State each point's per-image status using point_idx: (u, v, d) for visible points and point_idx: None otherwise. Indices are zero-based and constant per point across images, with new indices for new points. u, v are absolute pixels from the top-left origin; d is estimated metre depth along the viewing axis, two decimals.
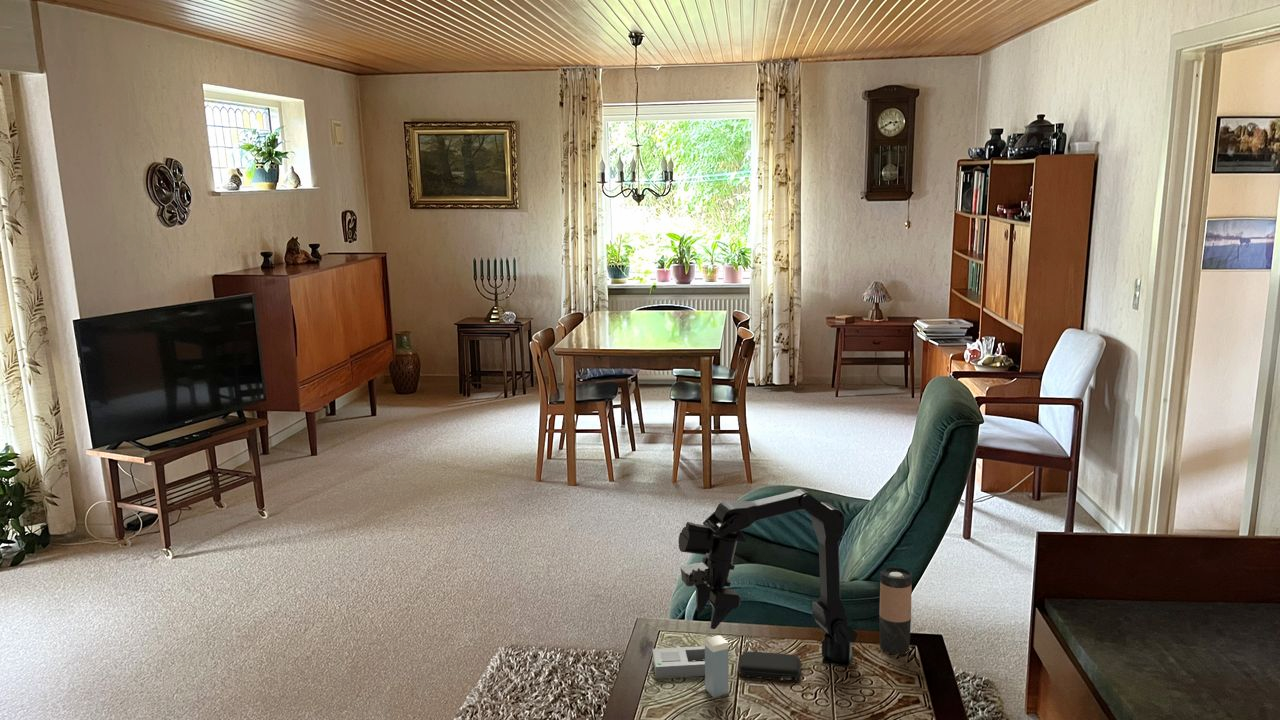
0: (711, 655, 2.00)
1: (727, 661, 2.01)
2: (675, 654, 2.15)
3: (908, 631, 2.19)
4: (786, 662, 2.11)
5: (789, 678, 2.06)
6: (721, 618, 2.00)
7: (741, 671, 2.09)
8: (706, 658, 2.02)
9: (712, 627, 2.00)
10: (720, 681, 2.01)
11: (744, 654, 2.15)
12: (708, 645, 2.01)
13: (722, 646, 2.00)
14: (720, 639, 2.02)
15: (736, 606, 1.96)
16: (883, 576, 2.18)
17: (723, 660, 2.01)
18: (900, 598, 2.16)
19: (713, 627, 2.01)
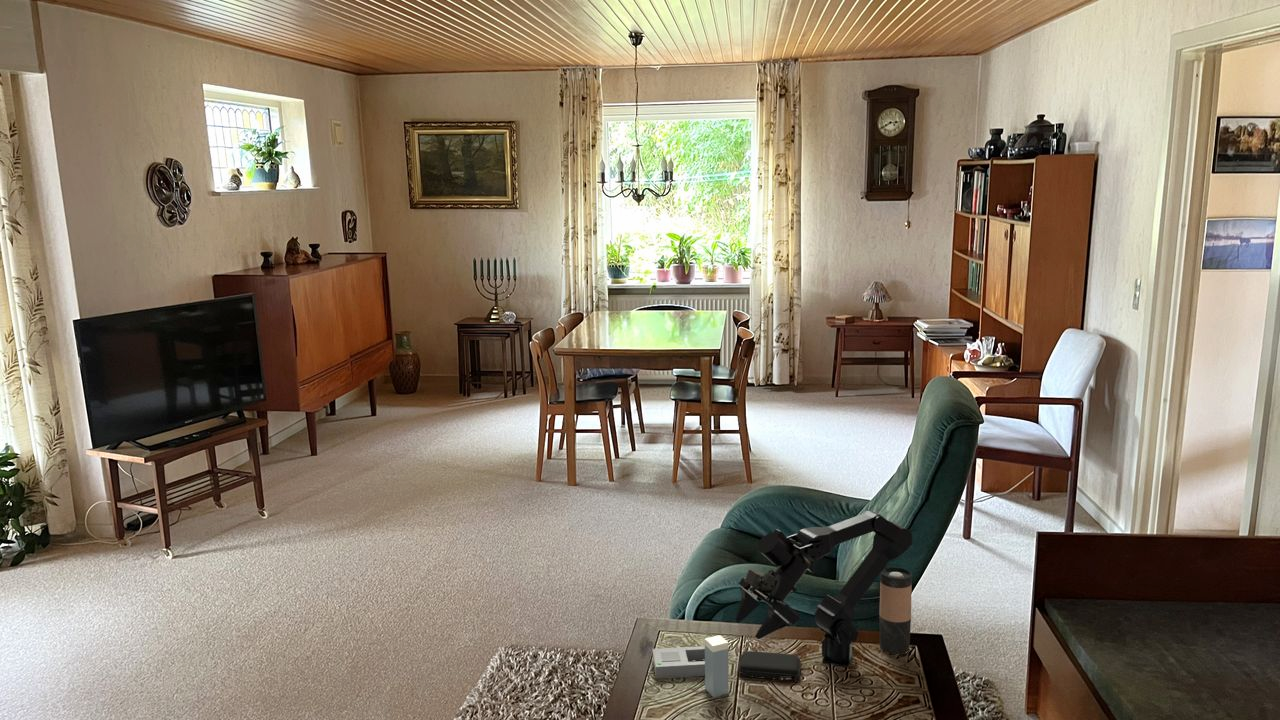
0: (711, 655, 2.00)
1: (727, 661, 2.01)
2: (675, 654, 2.15)
3: (908, 631, 2.19)
4: (786, 662, 2.11)
5: (789, 678, 2.06)
6: (770, 631, 2.00)
7: (741, 671, 2.10)
8: (706, 658, 2.02)
9: (757, 636, 2.00)
10: (720, 681, 2.01)
11: (744, 654, 2.16)
12: (707, 644, 2.01)
13: (722, 646, 2.00)
14: (720, 639, 2.02)
15: (793, 624, 1.98)
16: (883, 576, 2.18)
17: (723, 660, 2.01)
18: (900, 598, 2.16)
19: (758, 636, 2.00)
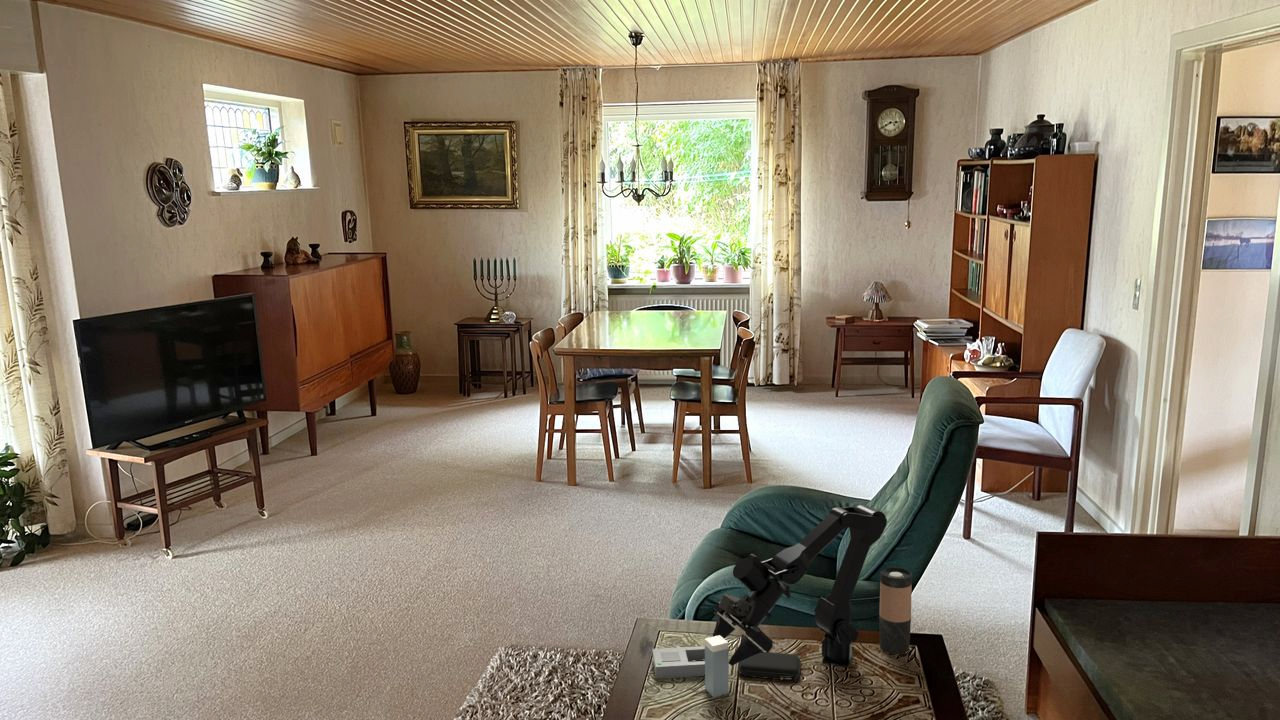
0: (711, 655, 2.00)
1: (727, 661, 2.01)
2: (675, 654, 2.15)
3: (908, 631, 2.19)
4: (786, 662, 2.11)
5: (789, 678, 2.06)
6: (743, 657, 1.98)
7: (741, 670, 2.10)
8: (706, 658, 2.02)
9: (731, 662, 1.98)
10: (720, 681, 2.01)
11: None
12: (707, 644, 2.01)
13: (722, 646, 2.00)
14: (720, 639, 2.02)
15: (767, 650, 1.96)
16: (883, 576, 2.18)
17: (723, 660, 2.01)
18: (900, 598, 2.16)
19: (731, 663, 1.98)
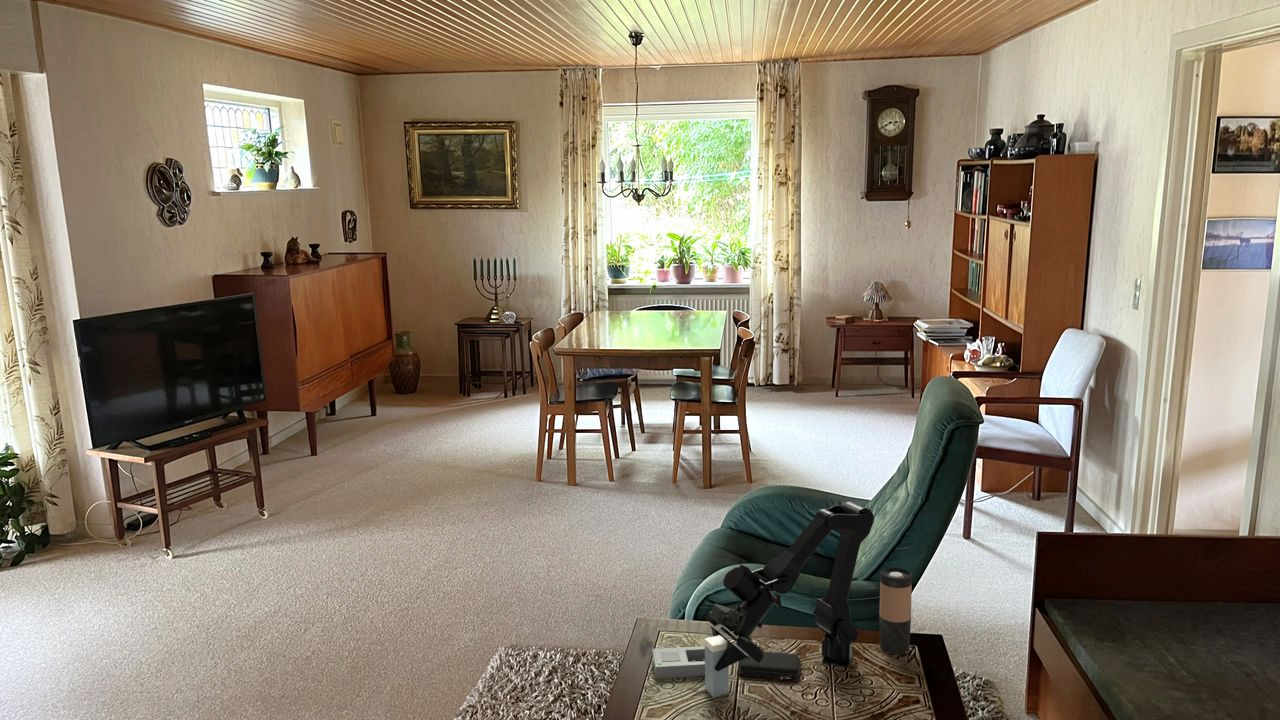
0: (711, 655, 2.00)
1: None
2: (675, 654, 2.15)
3: (908, 631, 2.19)
4: (786, 661, 2.11)
5: (789, 677, 2.06)
6: (729, 663, 2.00)
7: (741, 670, 2.10)
8: (706, 658, 2.02)
9: (716, 668, 2.00)
10: (720, 681, 2.01)
11: None
12: (707, 644, 2.01)
13: (722, 646, 2.00)
14: (720, 639, 2.02)
15: (758, 661, 1.96)
16: (883, 576, 2.18)
17: None
18: (900, 598, 2.16)
19: (717, 669, 2.00)
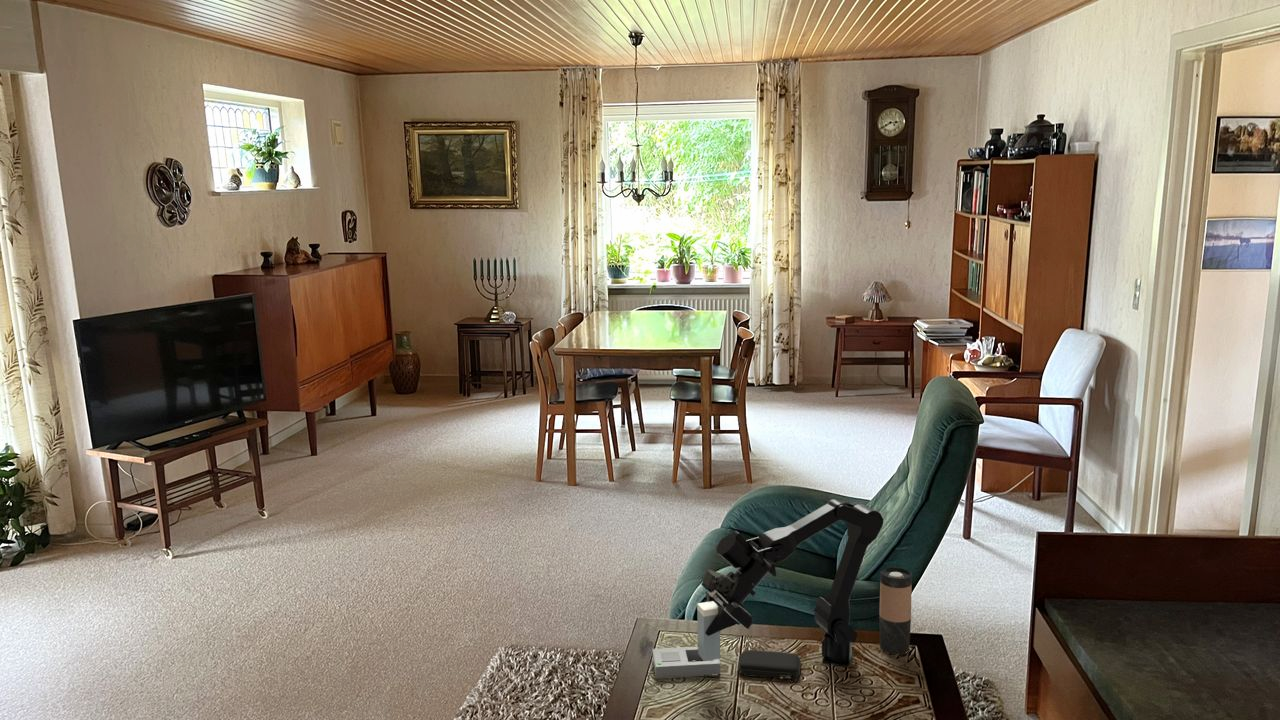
0: (702, 619, 2.03)
1: None
2: (675, 654, 2.15)
3: (908, 631, 2.19)
4: (786, 661, 2.11)
5: (789, 677, 2.07)
6: (720, 628, 2.02)
7: (741, 669, 2.10)
8: (698, 623, 2.05)
9: (707, 633, 2.02)
10: (711, 646, 2.03)
11: (744, 653, 2.16)
12: (699, 609, 2.04)
13: (713, 611, 2.02)
14: (712, 604, 2.04)
15: (746, 627, 1.97)
16: (883, 576, 2.18)
17: None
18: (900, 598, 2.16)
19: (708, 633, 2.02)
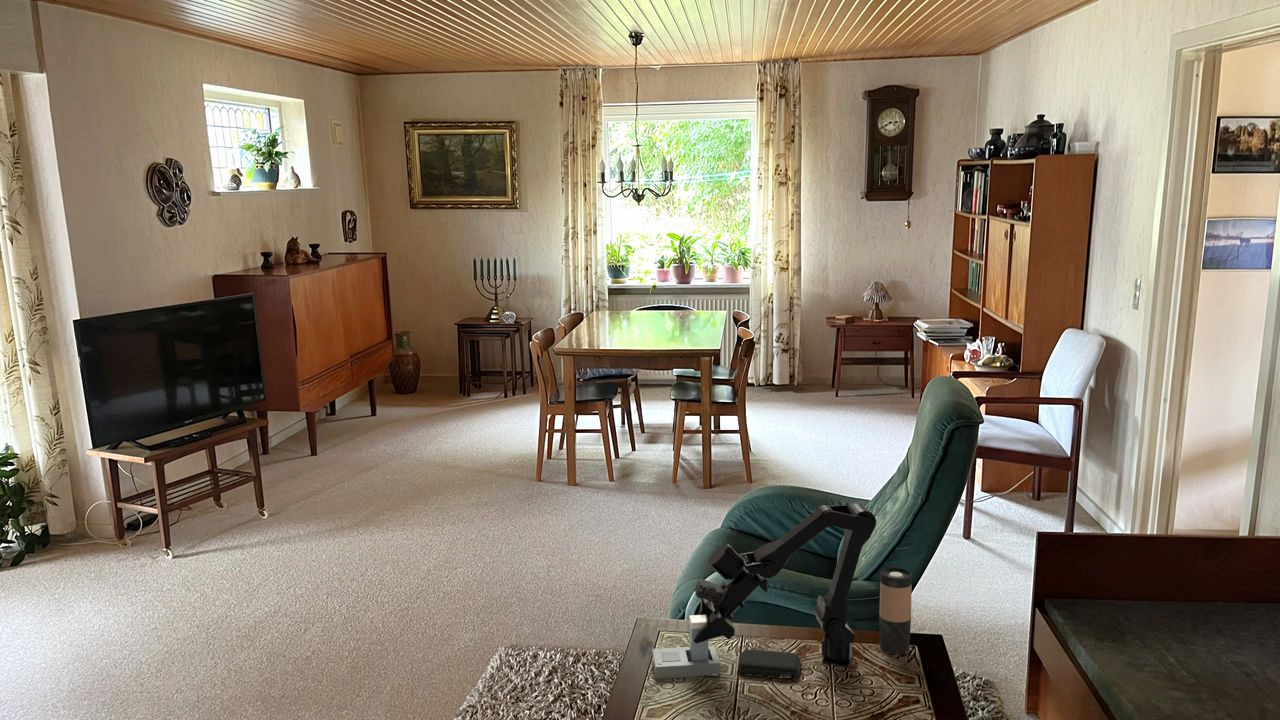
0: (691, 631, 2.12)
1: None
2: (675, 654, 2.15)
3: (908, 631, 2.19)
4: (786, 660, 2.11)
5: (788, 676, 2.07)
6: (707, 637, 2.09)
7: (741, 669, 2.10)
8: (690, 634, 2.15)
9: (695, 640, 2.10)
10: (699, 658, 2.12)
11: (744, 652, 2.16)
12: (690, 621, 2.13)
13: (701, 625, 2.11)
14: (703, 618, 2.13)
15: (727, 637, 2.04)
16: (883, 576, 2.18)
17: None
18: (900, 598, 2.16)
19: (696, 641, 2.10)
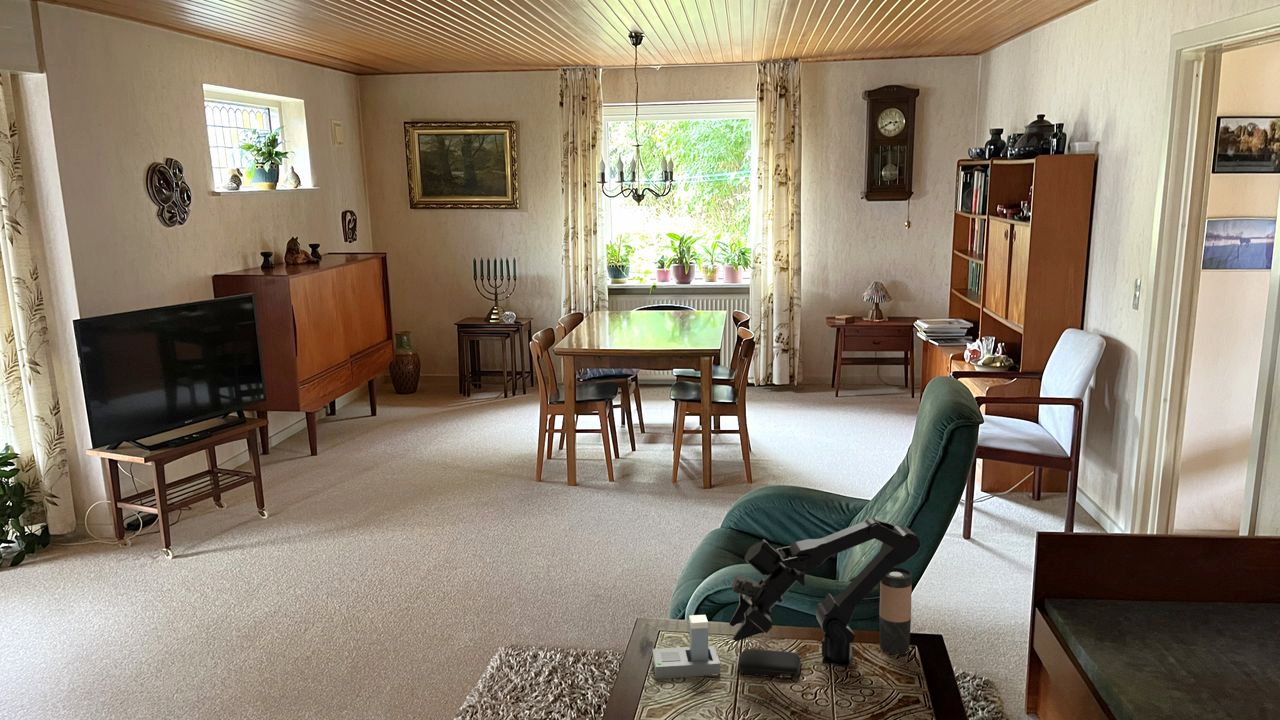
0: (691, 631, 2.12)
1: (707, 639, 2.12)
2: (675, 654, 2.15)
3: (908, 631, 2.19)
4: (785, 660, 2.12)
5: (788, 675, 2.07)
6: (746, 635, 2.08)
7: (741, 668, 2.11)
8: None
9: (734, 638, 2.09)
10: (699, 658, 2.12)
11: (744, 651, 2.17)
12: (690, 621, 2.13)
13: (701, 625, 2.11)
14: (702, 618, 2.13)
15: (764, 630, 2.05)
16: None
17: (702, 638, 2.12)
18: (900, 598, 2.16)
19: (735, 639, 2.09)
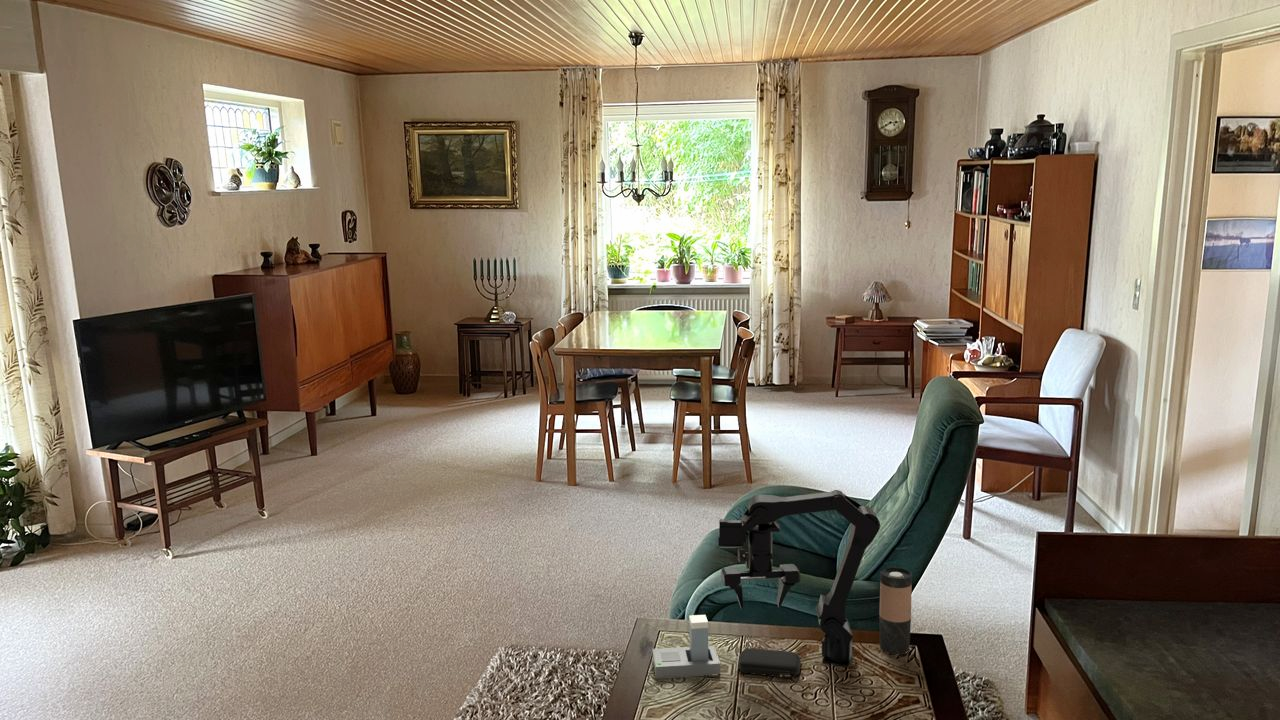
0: (691, 631, 2.12)
1: (707, 639, 2.12)
2: (675, 654, 2.15)
3: (908, 631, 2.19)
4: (785, 659, 2.12)
5: (788, 675, 2.07)
6: (738, 598, 2.15)
7: (741, 667, 2.11)
8: (689, 634, 2.15)
9: (740, 606, 2.17)
10: (699, 658, 2.12)
11: (744, 651, 2.17)
12: (690, 621, 2.13)
13: (701, 625, 2.11)
14: (702, 618, 2.13)
15: (724, 583, 2.13)
16: (883, 576, 2.18)
17: (702, 638, 2.12)
18: (900, 598, 2.16)
19: None
